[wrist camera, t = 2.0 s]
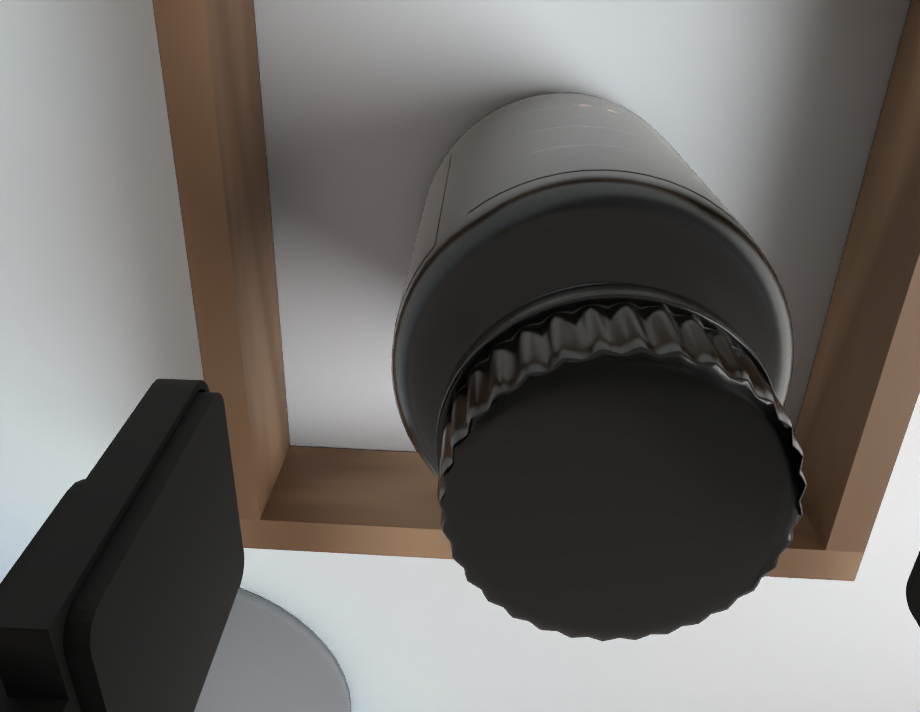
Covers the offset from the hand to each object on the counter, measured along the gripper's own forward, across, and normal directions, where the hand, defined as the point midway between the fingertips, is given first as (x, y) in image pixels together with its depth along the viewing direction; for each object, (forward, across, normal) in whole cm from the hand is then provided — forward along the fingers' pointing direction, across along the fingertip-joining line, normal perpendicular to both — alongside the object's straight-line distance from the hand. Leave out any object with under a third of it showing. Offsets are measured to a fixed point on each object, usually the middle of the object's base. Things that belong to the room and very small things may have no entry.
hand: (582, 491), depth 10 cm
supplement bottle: (+12, -1, +1) cm, 12 cm away
